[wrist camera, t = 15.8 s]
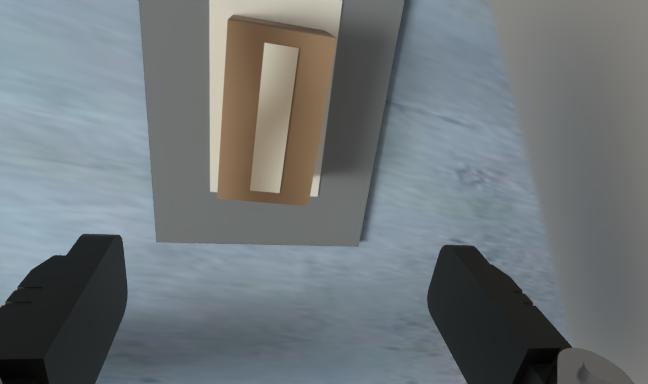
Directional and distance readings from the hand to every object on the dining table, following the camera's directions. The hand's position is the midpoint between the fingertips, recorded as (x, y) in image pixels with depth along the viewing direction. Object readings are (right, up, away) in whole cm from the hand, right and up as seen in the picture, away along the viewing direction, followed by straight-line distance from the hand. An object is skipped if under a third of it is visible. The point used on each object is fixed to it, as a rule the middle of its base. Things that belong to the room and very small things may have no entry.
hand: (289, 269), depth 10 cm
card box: (-2, +7, +14) cm, 16 cm away
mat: (-2, +7, +14) cm, 16 cm away
